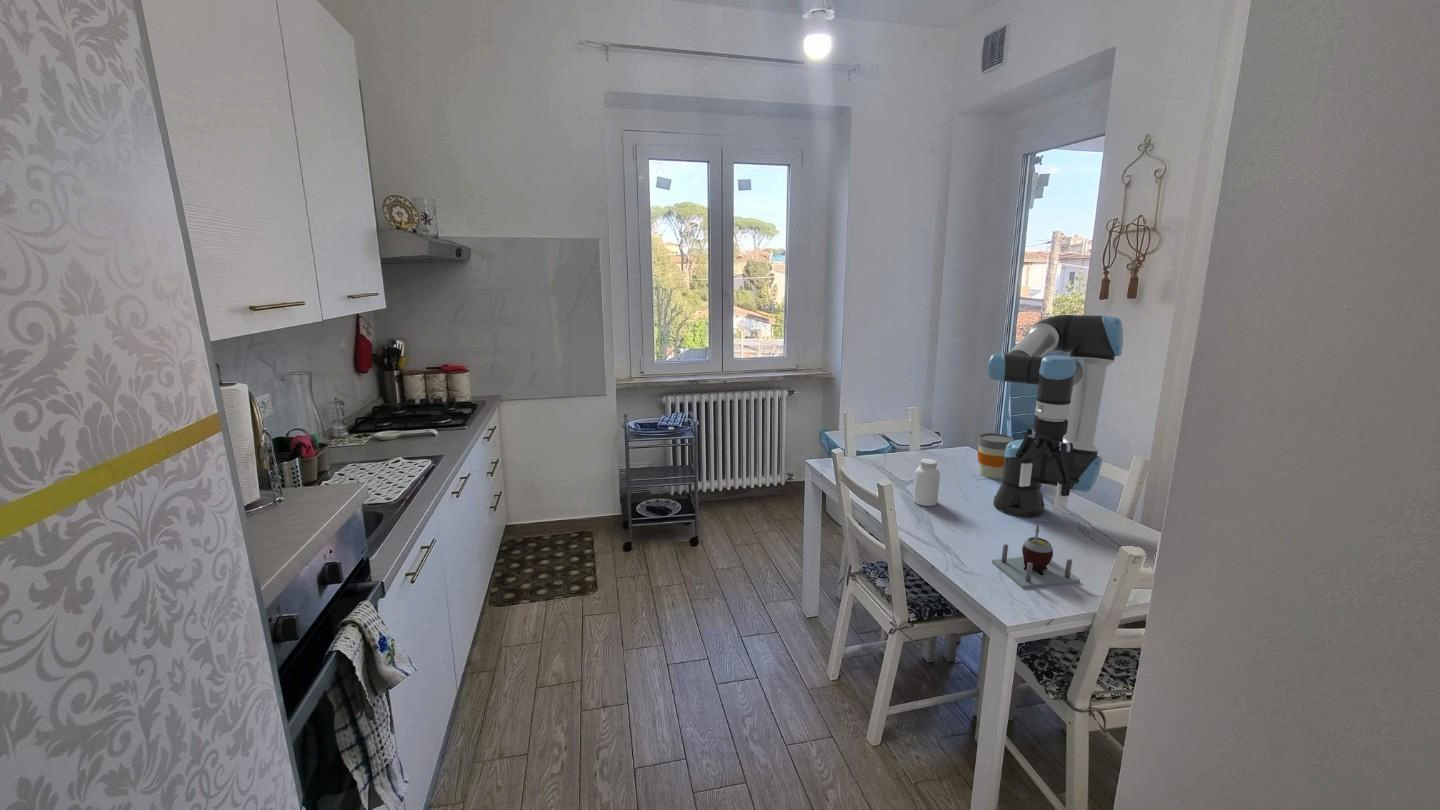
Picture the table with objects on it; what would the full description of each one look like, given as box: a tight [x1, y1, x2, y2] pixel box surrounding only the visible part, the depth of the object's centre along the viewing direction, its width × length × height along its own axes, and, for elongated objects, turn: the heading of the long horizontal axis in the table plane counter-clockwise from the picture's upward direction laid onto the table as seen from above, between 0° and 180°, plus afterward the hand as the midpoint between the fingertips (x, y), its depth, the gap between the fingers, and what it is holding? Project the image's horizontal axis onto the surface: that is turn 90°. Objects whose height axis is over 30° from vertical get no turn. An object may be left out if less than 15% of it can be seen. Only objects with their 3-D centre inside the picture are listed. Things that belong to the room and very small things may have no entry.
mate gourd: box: [1021, 524, 1054, 575], centre depth 150 cm, size 8×8×15 cm
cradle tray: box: [991, 543, 1081, 589], centre depth 152 cm, size 16×13×6 cm
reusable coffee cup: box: [977, 432, 1015, 480], centre depth 220 cm, size 12×13×15 cm
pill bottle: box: [912, 458, 941, 507], centre depth 196 cm, size 8×8×15 cm
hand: (1041, 495), depth 150 cm, fingers open, 13 cm apart
